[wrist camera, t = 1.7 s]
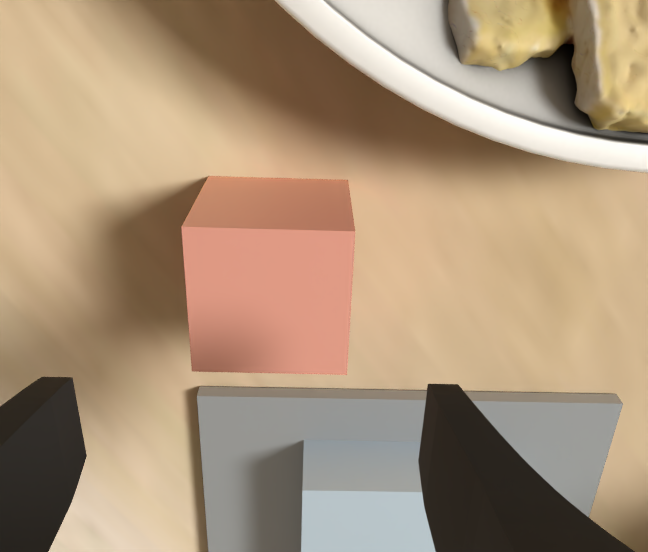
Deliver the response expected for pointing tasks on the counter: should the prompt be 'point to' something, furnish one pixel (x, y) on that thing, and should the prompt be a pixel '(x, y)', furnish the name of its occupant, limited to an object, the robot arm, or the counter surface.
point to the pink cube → (269, 275)
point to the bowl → (507, 68)
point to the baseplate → (370, 425)
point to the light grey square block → (363, 497)
